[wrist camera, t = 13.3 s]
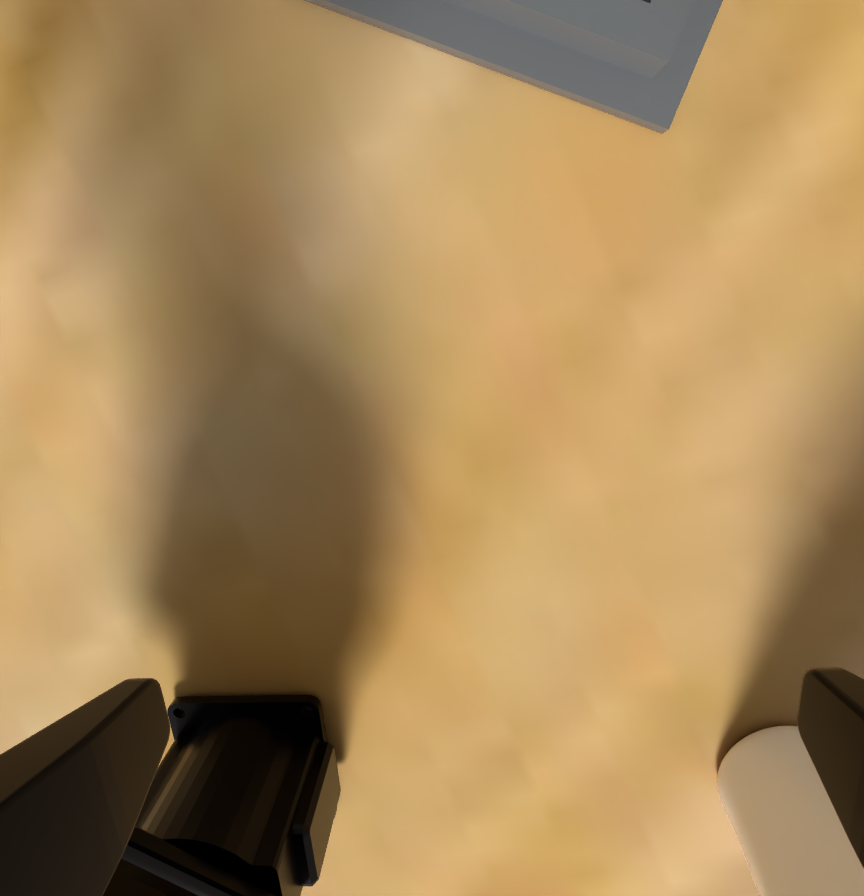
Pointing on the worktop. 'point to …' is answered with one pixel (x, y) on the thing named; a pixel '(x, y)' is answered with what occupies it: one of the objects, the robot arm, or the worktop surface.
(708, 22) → the socket holder
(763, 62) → the worktop surface
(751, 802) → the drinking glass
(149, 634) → the worktop surface
